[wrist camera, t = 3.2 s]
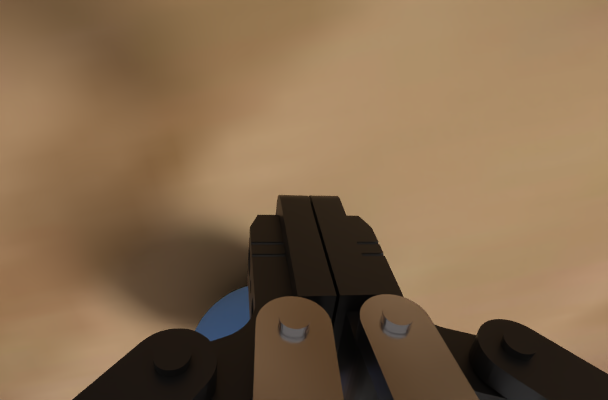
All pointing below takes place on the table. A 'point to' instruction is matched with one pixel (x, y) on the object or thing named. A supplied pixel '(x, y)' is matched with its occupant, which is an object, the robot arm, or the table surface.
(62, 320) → the table surface
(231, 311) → the ball
